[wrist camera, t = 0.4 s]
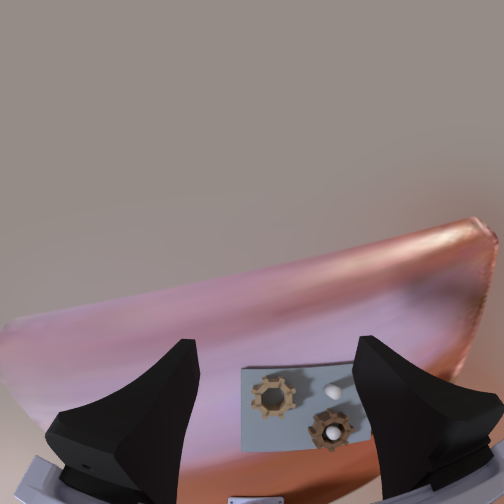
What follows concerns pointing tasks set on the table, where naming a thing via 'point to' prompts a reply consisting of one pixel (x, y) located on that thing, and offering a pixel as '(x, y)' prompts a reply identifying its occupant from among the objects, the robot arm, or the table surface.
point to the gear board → (300, 407)
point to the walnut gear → (326, 420)
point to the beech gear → (276, 409)
